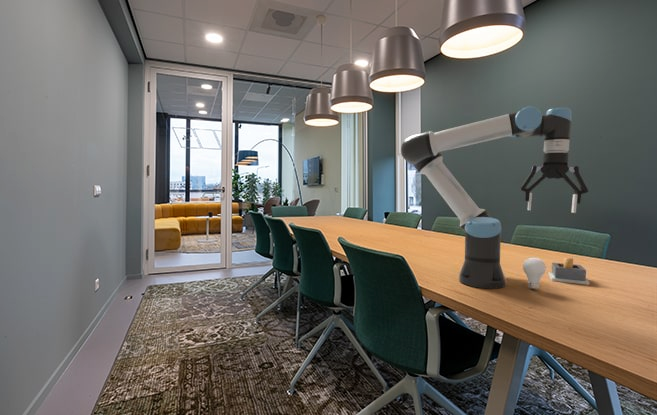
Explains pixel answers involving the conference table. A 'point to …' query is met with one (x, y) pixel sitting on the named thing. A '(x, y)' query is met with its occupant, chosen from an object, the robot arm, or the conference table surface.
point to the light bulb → (534, 271)
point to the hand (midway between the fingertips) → (550, 211)
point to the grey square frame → (569, 272)
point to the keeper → (568, 264)
